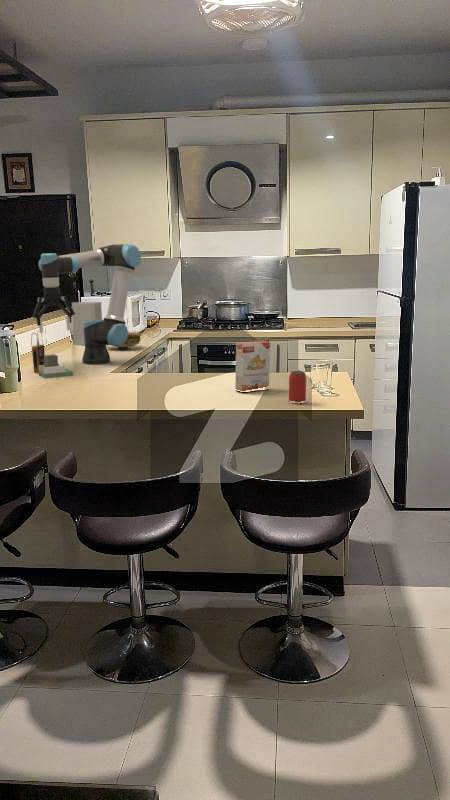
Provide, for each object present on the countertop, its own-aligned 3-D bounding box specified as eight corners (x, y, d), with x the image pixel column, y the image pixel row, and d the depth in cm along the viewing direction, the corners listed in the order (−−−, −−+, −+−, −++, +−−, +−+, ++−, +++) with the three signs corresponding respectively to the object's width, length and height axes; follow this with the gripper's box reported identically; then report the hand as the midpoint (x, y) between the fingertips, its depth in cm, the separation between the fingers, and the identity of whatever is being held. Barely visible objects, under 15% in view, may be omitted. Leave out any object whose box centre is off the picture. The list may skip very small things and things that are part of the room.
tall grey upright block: (80, 347, 401) (78, 303, 395) (73, 344, 414) (71, 302, 408) (108, 345, 411) (106, 302, 405) (100, 342, 423) (99, 301, 417)
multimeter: (48, 374, 303) (46, 333, 298) (30, 373, 305) (27, 333, 300) (62, 369, 317) (60, 330, 313) (44, 368, 319) (41, 330, 314)
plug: (55, 370, 301) (54, 354, 299) (58, 372, 297) (57, 355, 295) (44, 371, 298) (43, 355, 297) (48, 373, 294) (47, 356, 293)
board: (66, 372, 307) (66, 362, 306) (73, 375, 300) (72, 365, 298) (39, 375, 299) (38, 365, 298) (44, 378, 292) (44, 367, 291)
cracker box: (242, 393, 256) (242, 343, 252) (234, 391, 261) (235, 342, 257) (270, 390, 264) (270, 341, 259) (261, 388, 269) (262, 340, 264)
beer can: (287, 400, 243) (287, 370, 241) (303, 400, 244) (304, 370, 241) (290, 404, 237) (291, 373, 234) (307, 404, 237) (308, 373, 235)
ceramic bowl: (151, 350, 387) (151, 334, 384) (117, 353, 373) (116, 337, 370) (128, 345, 410) (128, 330, 408) (95, 348, 396) (95, 332, 394)
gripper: (73, 285, 303) (76, 328, 308) (22, 287, 290) (27, 332, 295) (79, 285, 297) (82, 329, 302) (27, 288, 284) (32, 334, 289)
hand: (55, 331), depth 299 cm, fingers open, 13 cm apart
